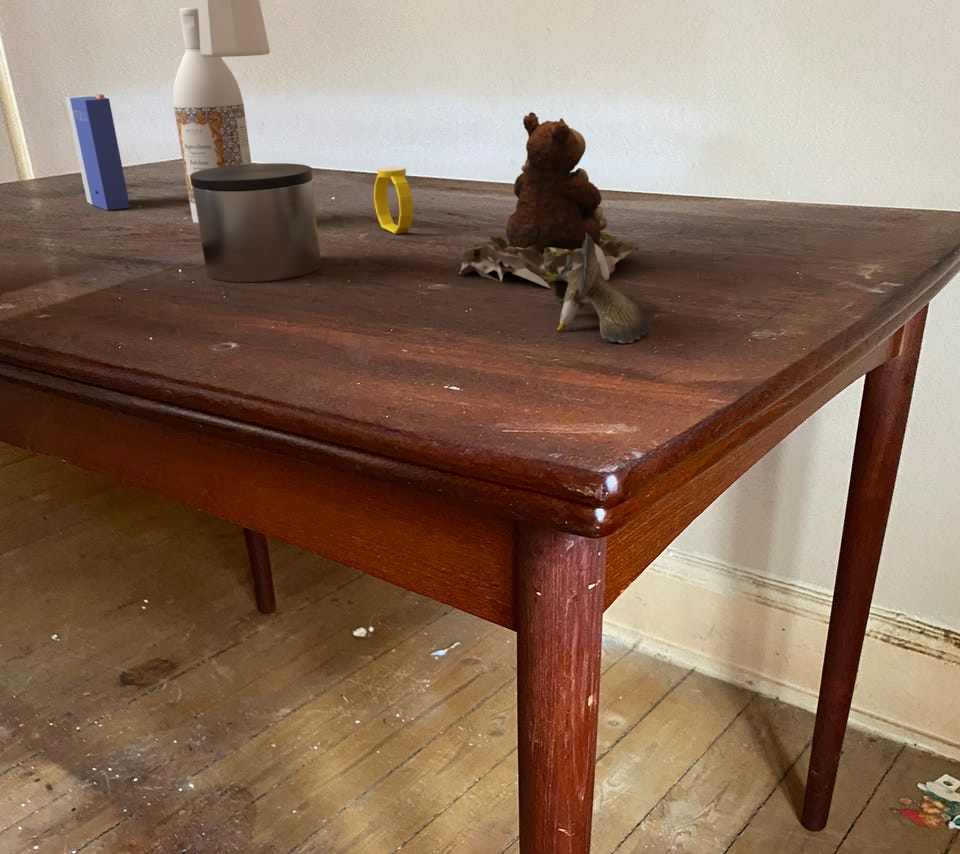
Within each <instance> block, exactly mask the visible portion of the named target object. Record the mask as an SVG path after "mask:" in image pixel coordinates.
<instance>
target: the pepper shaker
mask: <svg viewBox="0 0 960 854" xmlns="http://www.w3.org/2000/svg"><path fill="white" fill-rule="evenodd" d="M261 6H262V5H261V2H260V0H197V8H198V16H199V34H200V52H201V56H202V57H221V58H229V57H231V58H232V57H235V58H236V57H250V56H251V57H252V56H254V57H255V56H264V55H269V54H270V52H271V50H270V45H269V40H268V35H267V31H266V26H265V21H264V16H263V11H262V7H261Z"/></svg>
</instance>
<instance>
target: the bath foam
mask: <svg viewBox="0 0 960 854" xmlns="http://www.w3.org/2000/svg"><path fill="white" fill-rule="evenodd" d="M179 16H180V23H181V30H182V36H183V41H184V47H185V52H184V55H183V57H182V59H181V62H180V64H179V66H178V70H177V72H176V76H175V78H174V79H175V80H174V83H173V92H172V93H173V94H172V95H173V97H172V98H173V99H172V100H173V109H174V115H175V122H176V127H177V129H176V130H177V133H178V141H179V147H180V152H181V159H182V165H183V170H184V177H185V183H186V187H187V188H186V189H187V195H188V201H189V206H190V212H191V218H192V223H194V224H195V223H196V224H199V222H198V216H197V209H196V203H195V197H194V191H193V187H192V185H191V180H190V175H191V174H192V173H194V172H197V171H200V170H205V169H210V168H216V167H223V166H232V165H244V164H252V158H251V151H250V142H249V141H250V140H249V133H248V128H247V119H246V112H245V104H244V100H243V99H244V98H243V96H242V91H241V89H240V86H239V83H238V81H237V79H236V77H235V76H234V73H233V72H232V70H231V69H230V67H229V66H228V65H227V63H226V62H225V60H224V59H223V57H202V56H201V52H200V34H199V16H198V7H182V8H179Z"/></svg>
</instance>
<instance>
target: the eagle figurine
mask: <svg viewBox="0 0 960 854" xmlns="http://www.w3.org/2000/svg"><path fill="white" fill-rule="evenodd" d="M585 236H586V238H585V240H584V243H583V245H582V247H583V248H581V251H582V256H583V262H582V264H581V266H579V267H578V268H576V269H575V270H571V269H572V268H573V263H572V258H571V257H570V256H569V255H567V262H566V264H565V266H564V268H563V269H562V271H561V274H559V273H558V269H557V264H556V261H555V259H554V256H553V253H552V251H549V253H547V254H546V256H545V259H544V267H545V268H544V269H542V268H540V267H538V266H537V265H535V264H534V263H532V262H530V261H529V260H528V259H527V257H526V256H524V255H523V254H522V253H518V257H519V259H520V261H521V262H522V264H523V266H524V267H525V268H526V269H528V270H529V271H530V272H532V273H534V274H536V275H538V276H539V277H540V278H542V279H543V280H544V282H547V284H548V285H549V287H550V288H549V289H551V291H552V292H553V293H554V296H555V301H556V302H557V303H558V306H559V307H561V308H562V309H561V312H560V317H559V318H560V319H559V325H558V327H557V328H556V331H557V332H561V331H562V330H563V329H565V327H567V326H569V325H571V324H572V323H573V321H574V320H575V317H576V315H577V313H578V311H579V310H580V309H581V308H582V307H584V306H586V305H587V306H591V307H593V308H594V310H595V312H596V314H597V316H598V320H599V333H600V336H601V339H603V340H608V341H610V342H612V343H616V342H617V343H620V344H623V345H624V344H628V343H629V344H632V343H634V342H635V341H636V340H637V341H638V340H640V339H642V336H645V335H646V332H648V331H649V329H648V328H649V326H648V324H649V323H648V320H647V316H645V314H644V313H643V311H642V310H641V308H640V306H639V305H637V303H636V302H635V301H634V300H633V299H631V297H629V296H628V295H627V294H625V293H624V292H623V291H620V290H619V289H617V288H616V287H615V286H613V285H612V284H610V283H609V282H608V280H609V279H610V274H609V270H608V267H607V263H606V259H605V257H604V254H603V251H602V250H601V249H600V248H599V247H598V246H597V245H596V244H594V241H593V239H592V237H591V236H589V235H588V234H587V233H586V234H585Z"/></svg>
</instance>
